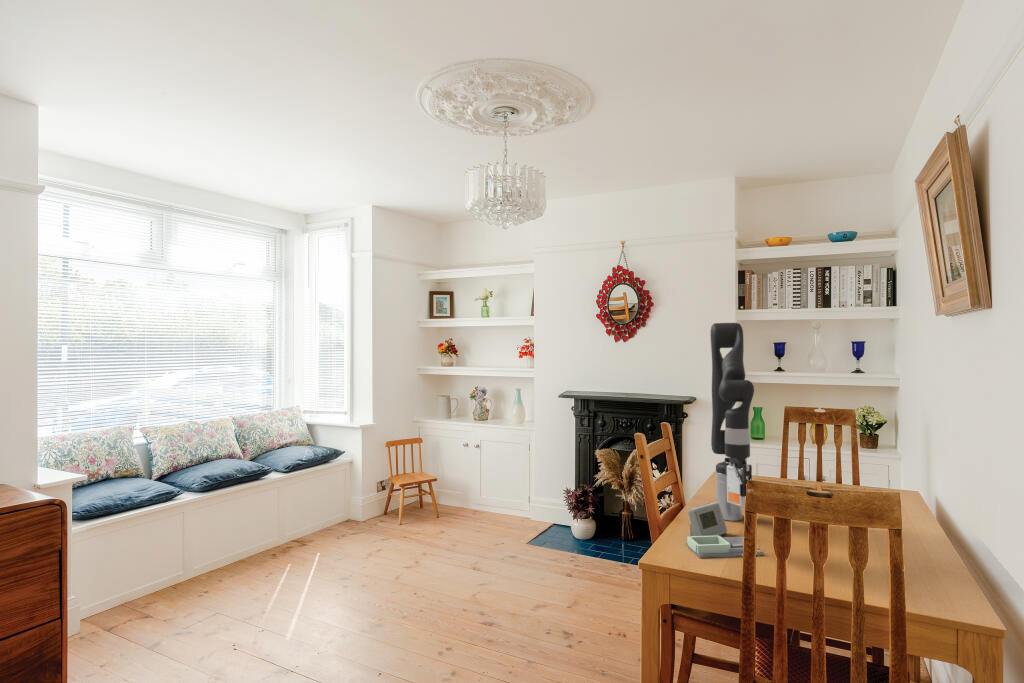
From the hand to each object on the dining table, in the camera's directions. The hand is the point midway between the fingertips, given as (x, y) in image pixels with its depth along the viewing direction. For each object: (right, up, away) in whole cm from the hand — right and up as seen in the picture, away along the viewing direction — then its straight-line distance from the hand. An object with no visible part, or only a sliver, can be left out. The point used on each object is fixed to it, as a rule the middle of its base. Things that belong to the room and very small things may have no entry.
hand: (738, 493), depth 186 cm
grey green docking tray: (-5, -18, 0) cm, 19 cm away
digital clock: (-5, -19, +13) cm, 23 cm away
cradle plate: (0, -16, 0) cm, 16 cm away
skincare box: (0, -3, 0) cm, 3 cm away
